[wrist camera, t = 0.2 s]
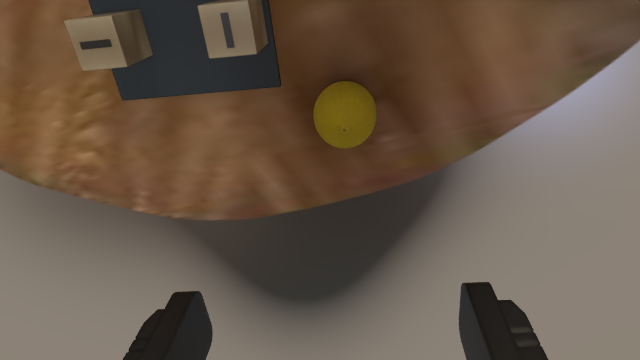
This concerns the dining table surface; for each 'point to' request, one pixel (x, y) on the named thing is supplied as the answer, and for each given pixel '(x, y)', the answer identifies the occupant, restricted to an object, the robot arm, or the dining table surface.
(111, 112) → the dining table surface
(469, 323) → the robot arm
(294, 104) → the dining table surface
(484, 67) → the dining table surface
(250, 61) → the word mat
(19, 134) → the dining table surface
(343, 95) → the lemon
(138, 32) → the letter block row
